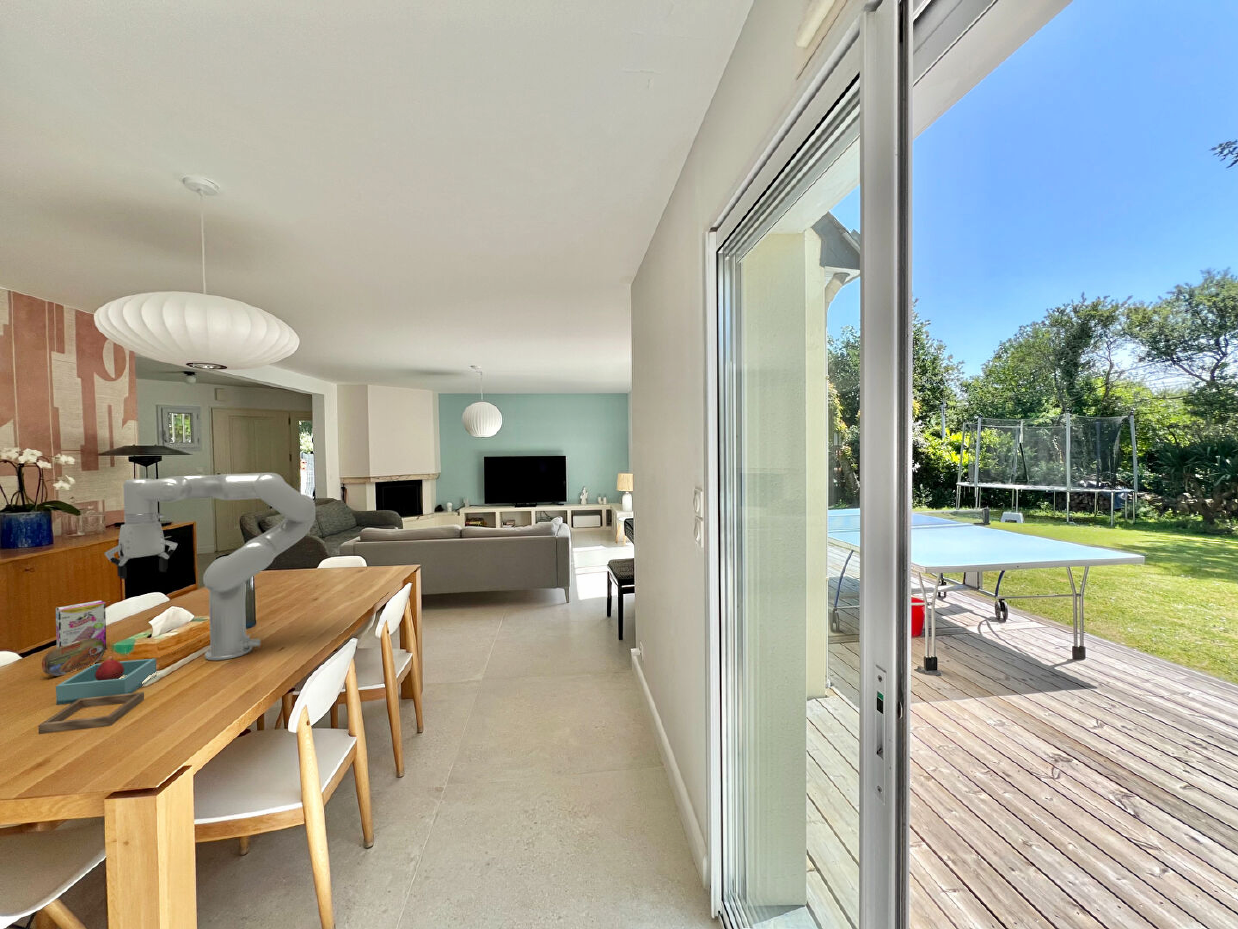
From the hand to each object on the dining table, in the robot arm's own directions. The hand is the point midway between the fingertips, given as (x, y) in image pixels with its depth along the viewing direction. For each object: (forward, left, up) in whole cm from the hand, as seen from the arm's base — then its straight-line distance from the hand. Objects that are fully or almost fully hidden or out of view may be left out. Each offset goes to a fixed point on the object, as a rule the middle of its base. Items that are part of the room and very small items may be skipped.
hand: (143, 575), depth 167 cm
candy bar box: (+26, -17, -28) cm, 42 cm away
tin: (+20, -3, -29) cm, 35 cm away
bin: (+1, +16, -28) cm, 33 cm away
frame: (-5, +33, -28) cm, 44 cm away
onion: (+1, +16, -28) cm, 32 cm away
